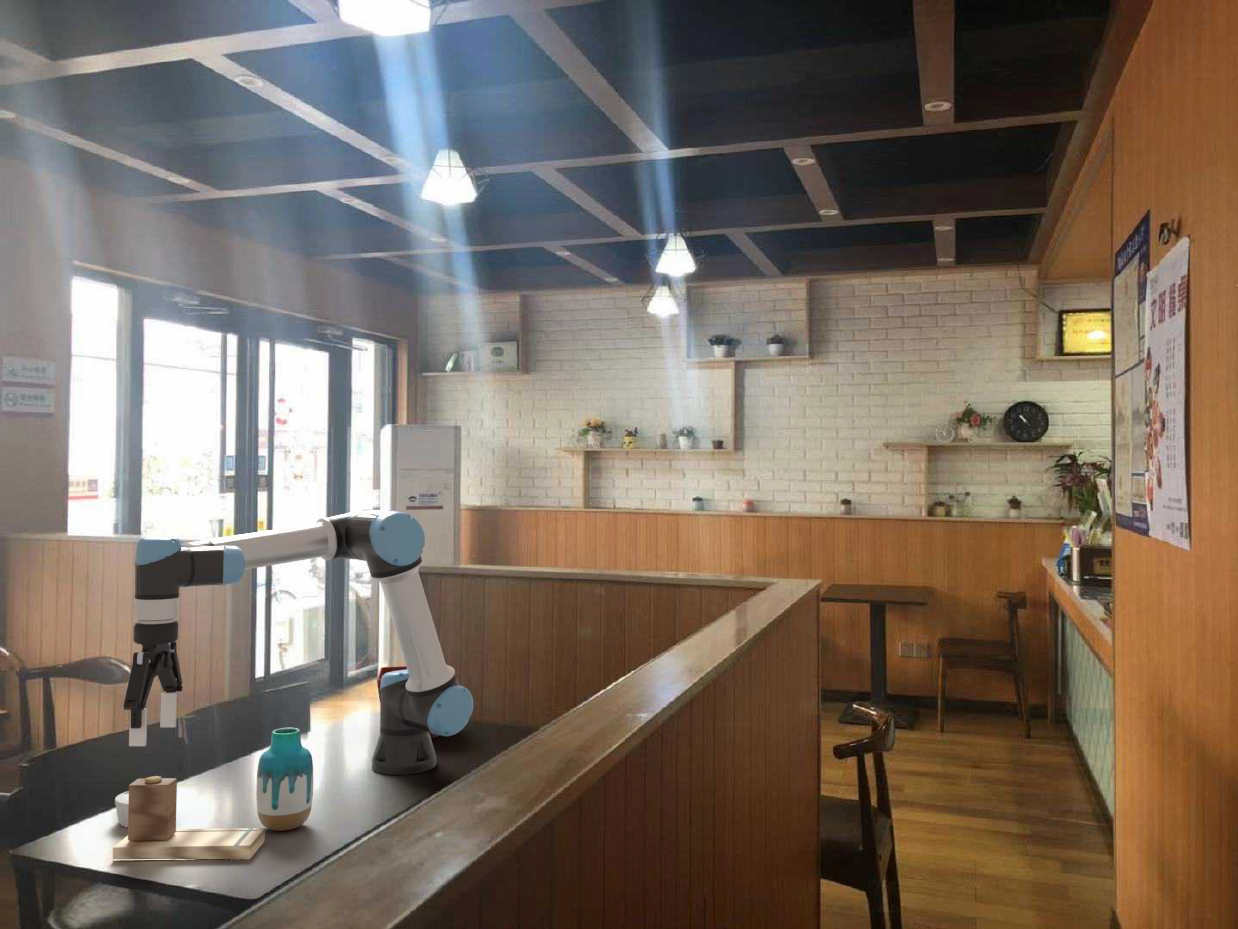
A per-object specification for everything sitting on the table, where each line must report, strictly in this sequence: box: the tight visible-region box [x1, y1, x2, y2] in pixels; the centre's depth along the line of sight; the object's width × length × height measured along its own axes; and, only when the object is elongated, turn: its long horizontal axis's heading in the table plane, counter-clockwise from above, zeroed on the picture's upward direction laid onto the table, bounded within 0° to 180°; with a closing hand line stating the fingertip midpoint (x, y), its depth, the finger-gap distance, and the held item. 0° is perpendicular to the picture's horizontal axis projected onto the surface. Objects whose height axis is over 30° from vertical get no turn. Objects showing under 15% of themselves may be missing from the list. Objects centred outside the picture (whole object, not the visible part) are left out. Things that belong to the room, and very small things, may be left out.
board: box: [112, 827, 266, 861], centre depth 180 cm, size 24×9×3 cm, turn 94°
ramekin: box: [114, 790, 129, 828], centre depth 196 cm, size 11×11×5 cm
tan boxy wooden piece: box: [127, 775, 178, 841], centre depth 181 cm, size 7×8×11 cm
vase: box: [255, 727, 314, 832], centre depth 192 cm, size 11×11×19 cm
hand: (153, 736), depth 180 cm, fingers open, 13 cm apart
